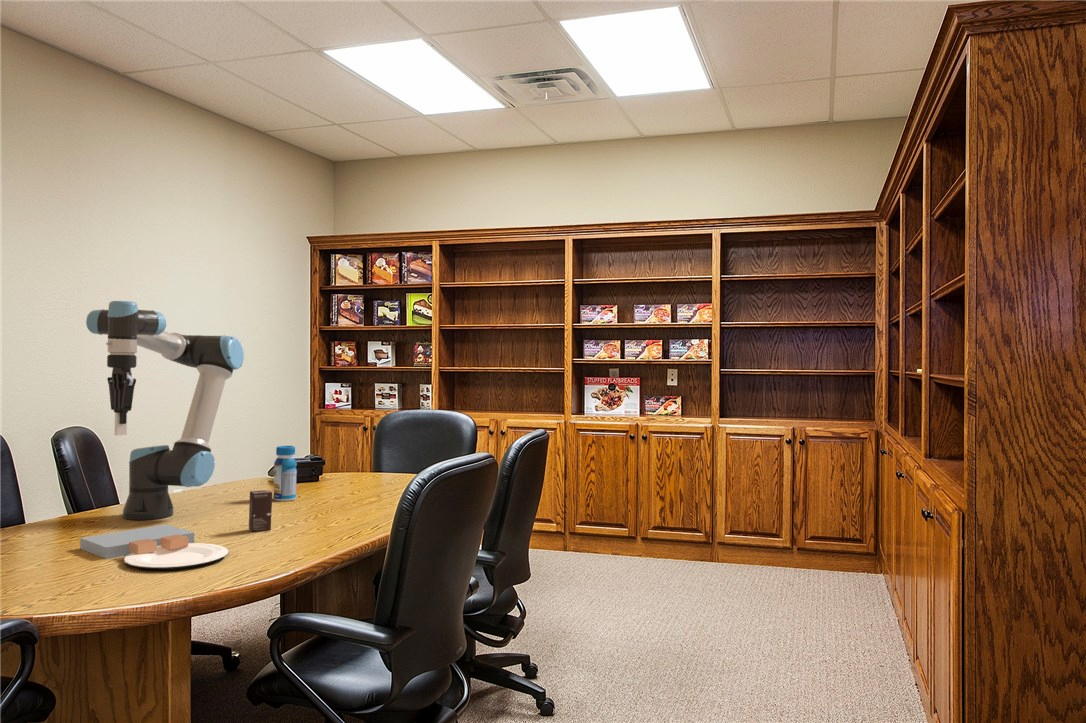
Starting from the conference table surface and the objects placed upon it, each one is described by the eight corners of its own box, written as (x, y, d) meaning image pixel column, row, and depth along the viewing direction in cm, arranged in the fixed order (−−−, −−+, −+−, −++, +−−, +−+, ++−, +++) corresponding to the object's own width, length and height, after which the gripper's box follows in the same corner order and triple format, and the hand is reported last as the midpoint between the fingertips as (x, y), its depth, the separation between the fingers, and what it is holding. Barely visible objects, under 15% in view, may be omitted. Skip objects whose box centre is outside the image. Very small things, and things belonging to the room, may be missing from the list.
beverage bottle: (292, 501, 288) (293, 448, 288) (269, 501, 288) (270, 447, 288) (299, 497, 297) (300, 445, 297) (277, 497, 297) (278, 445, 297)
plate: (160, 580, 187) (161, 572, 187) (103, 563, 200) (103, 556, 200) (248, 558, 209) (248, 551, 209) (191, 545, 222) (191, 538, 222)
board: (80, 548, 213) (80, 537, 213) (166, 534, 232) (166, 524, 232) (106, 558, 204) (106, 547, 204) (194, 542, 223) (194, 532, 223)
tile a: (160, 546, 212) (161, 537, 212) (178, 543, 216) (178, 534, 216) (170, 549, 209) (170, 540, 209) (188, 546, 213) (188, 537, 213)
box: (251, 532, 237) (252, 493, 237) (248, 529, 241) (249, 491, 241) (272, 530, 241) (272, 491, 241) (268, 527, 244) (269, 489, 244)
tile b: (128, 551, 206) (128, 541, 206) (147, 547, 210) (147, 538, 210) (137, 554, 203) (138, 545, 203) (156, 550, 207) (157, 541, 207)
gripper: (98, 353, 226) (96, 434, 226) (118, 354, 218) (117, 437, 219) (125, 354, 232) (123, 432, 232) (145, 354, 224) (144, 435, 225)
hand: (120, 434), depth 226 cm, fingers closed
